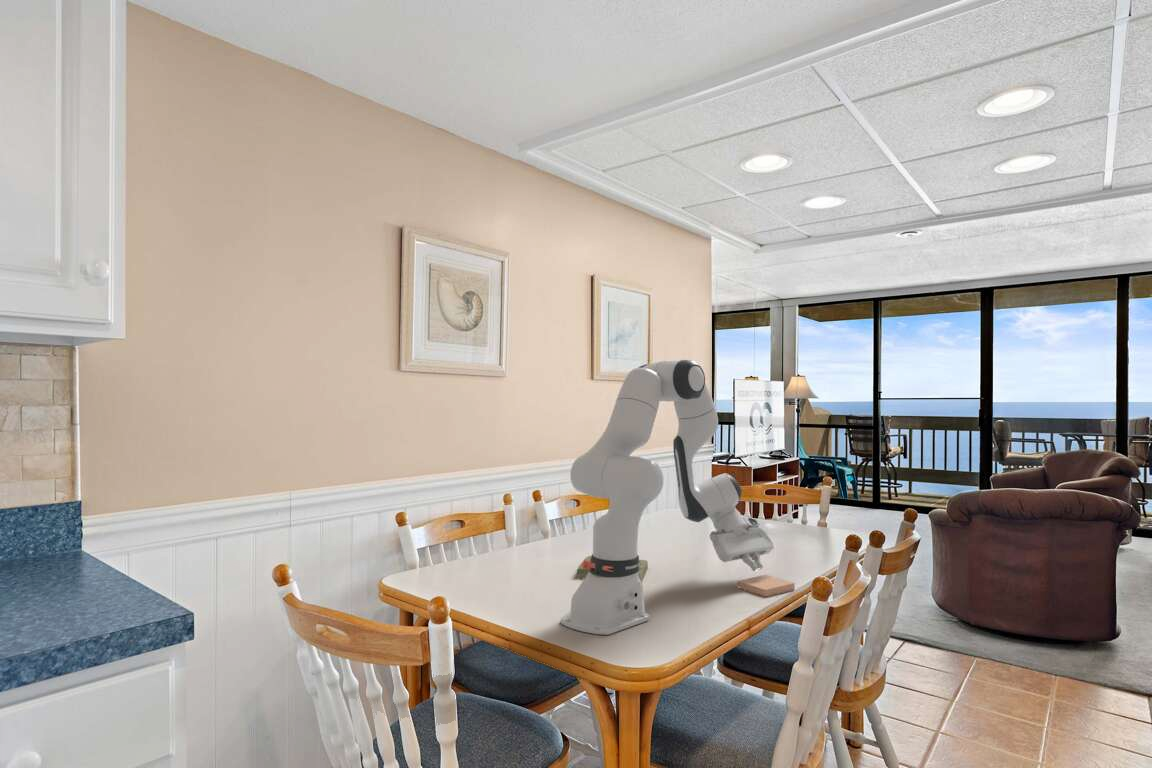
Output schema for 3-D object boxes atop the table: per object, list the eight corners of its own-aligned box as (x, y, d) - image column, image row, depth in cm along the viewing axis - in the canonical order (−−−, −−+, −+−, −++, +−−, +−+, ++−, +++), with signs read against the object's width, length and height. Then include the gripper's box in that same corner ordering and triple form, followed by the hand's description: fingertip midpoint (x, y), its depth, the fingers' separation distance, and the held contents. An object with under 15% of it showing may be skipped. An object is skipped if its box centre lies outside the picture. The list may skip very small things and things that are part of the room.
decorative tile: (585, 565, 204) (585, 554, 204) (648, 569, 200) (648, 557, 200) (573, 581, 186) (573, 568, 186) (641, 585, 182) (641, 573, 182)
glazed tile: (737, 589, 179) (765, 598, 170) (737, 580, 179) (765, 589, 170) (765, 582, 185) (794, 591, 177) (765, 574, 185) (794, 582, 177)
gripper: (712, 526, 181) (738, 568, 173) (761, 518, 192) (788, 558, 184) (701, 538, 185) (726, 580, 176) (750, 531, 196) (775, 570, 187)
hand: (758, 569), depth 180 cm, fingers closed
